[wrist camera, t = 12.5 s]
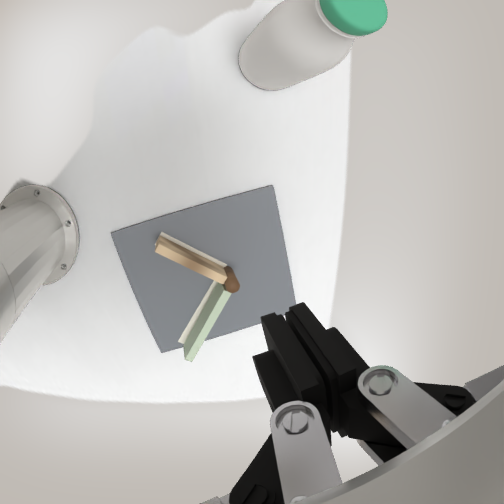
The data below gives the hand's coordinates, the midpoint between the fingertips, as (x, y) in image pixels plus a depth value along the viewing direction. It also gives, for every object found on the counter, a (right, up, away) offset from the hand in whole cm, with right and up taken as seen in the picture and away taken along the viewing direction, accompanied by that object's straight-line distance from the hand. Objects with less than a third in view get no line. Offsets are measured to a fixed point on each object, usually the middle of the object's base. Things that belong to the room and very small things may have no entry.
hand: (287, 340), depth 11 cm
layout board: (-6, 0, +28) cm, 29 cm away
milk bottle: (+1, +26, +21) cm, 33 cm away
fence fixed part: (-8, +3, +27) cm, 28 cm away
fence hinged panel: (-8, -5, +29) cm, 30 cm away
